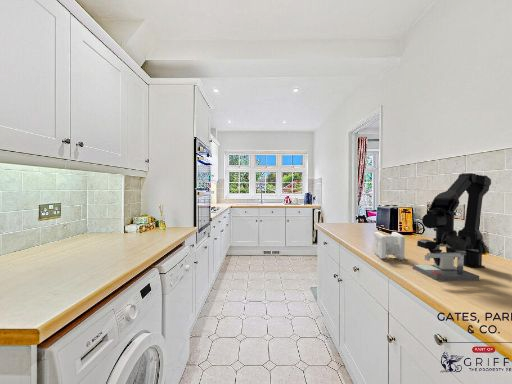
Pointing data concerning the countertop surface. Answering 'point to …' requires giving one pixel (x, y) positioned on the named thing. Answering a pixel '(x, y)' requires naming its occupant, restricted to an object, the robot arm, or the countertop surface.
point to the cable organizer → (389, 245)
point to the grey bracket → (458, 254)
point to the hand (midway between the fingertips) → (443, 265)
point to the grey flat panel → (444, 273)
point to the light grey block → (446, 263)
